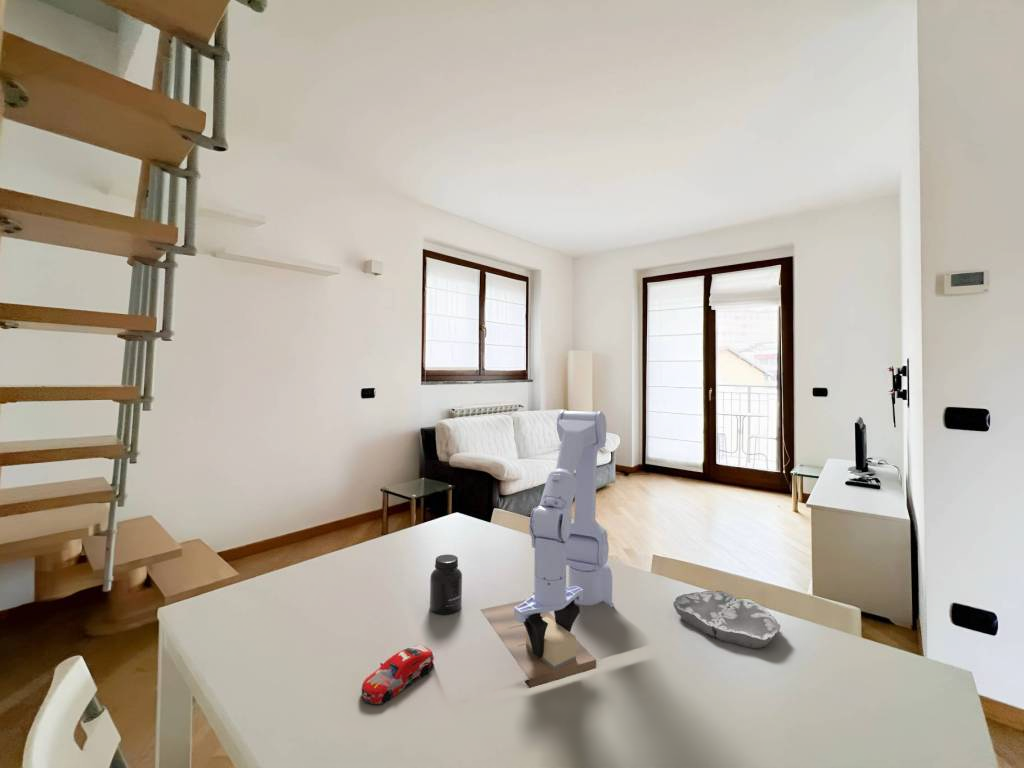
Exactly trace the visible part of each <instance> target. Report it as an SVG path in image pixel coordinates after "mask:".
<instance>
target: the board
mask: <svg viewBox="0 0 1024 768" xmlns="http://www.w3.org/2000/svg"><path fill="white" fill-rule="evenodd" d="M526 600H527V599H524V600H520V601H516V602H509V603H505V604H500V605H495V606H492V607H491V606H490V607H486V608H483V609H482V608H481V609H480V612H482V614H483V616H484V617H485V618H486V620H487V621H488V622H489V624H490V625H491V627H492V628H493V630H494V631H495V632H496V634H497V635H498V637H499V638H500V640H501V641H502V643H503V644H504V645H505V647H506V648H507V650H508V651H509V653H510V654H511V655H512V657H513V658H514V660H515V662H517V664H518V665H519V667H520V669H522V671H523V673H524V674H525V675H526V676H527V678H528V679H526V680H524V683H525V684H526V685H527V687H528V688H529V689H531V688H535V687H537V686H541V685H545V684H548V683H552V682H555V681H558V680H562V679H566V678H569V677H571V676H574V675H577V674H578V675H579V674H581V673H585V672H587V671H591V670H594V669H597V659H596V657H595V656H593V655H592V653H591V652H589V651H588V650H587V649H586V648H585V647H584V646H583V645H582V644H581V642H579V641H578V640H577V639H576V660H573V661H571V662H569V663H567V664H565V665H563V666H561V667H559V668H557V669H555V670H554V669H553V668H551V667H550V666H549V665H548V664H547V663H545V662H544V661H543V660H542V659H540V658H539V657H537V656H536V655H535V654H534V653H533V652H532V651H531V650H530V649H528V648H527V647H526V627H525V625H524V623H520V622H518V621H517V620H516V619H515V618H514V607H516V606H519V605H521V604H522V603H524V602H525V601H526ZM540 616H542V618H545V617H548V618H550V619H551V620H553V621H554V622H555V616H554V615H553V614H552V613H550V612H543V613H540Z"/></svg>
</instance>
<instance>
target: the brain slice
mask: <svg viewBox="0 0 1024 768" xmlns="http://www.w3.org/2000/svg"><path fill="white" fill-rule="evenodd" d="M673 607H674V609H675V612H676V613H677V615H679V616H680V618H681V619H682V620H683V621H684V622H685V623H687V624H688V625H690V626H693V627H694V628H696V629H697V630H699V631H701V632H702V633H704V634H706V635H708V636H711V637H713V638H716V639H718V640H719V641H722V642H725V643H730V644H735V645H738V646H742V647H745V648H751V649H760V648H763V647H765V646H767V644H770V643H771V641H772V640H773V639H774V638H775V636H776V634H777V633H778V632H779V631H780V629H781V624H780V623H778V622H777V619H776V618H775V617H774V616H773V615H772V614H771V612H769V611H768V610H767V609H766V608H764V606H763V605H761V604H759V603H758V602H755V601H754V600H752V599H750V598H747V597H738V598H737V597H736V595H733V594H731V593H728V592H725V591H718V590H717V591H712V590H705V591H702V592H697V591H696V592H692V593H684V594H682V595H679V596H677V597H676V598H675V599H674V601H673Z"/></svg>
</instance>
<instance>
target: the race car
mask: <svg viewBox="0 0 1024 768" xmlns="http://www.w3.org/2000/svg"><path fill="white" fill-rule="evenodd" d="M434 658H435V656H434V655H433V652H432V650H431V649H429V648H428V647H426V646H424V645H421V644H420V645H414V646H410V647H407V648H405V649H403V650H400V651H398V652H397V653H395V654H394V655H392V656H391V657H389V658H388V659H387V660H386V661H384V662H380V664H379V665H380V667H378V669H377V670H375V671H374V672H372V673H371V674H370V675H368V677H366V678H365V679H364V681H363V683H362V685H361V698H362V700H363V701H364V702H365V703H368V704H371V705H381V704H383V705H385V704H386V703H388V702H389V701H391V699H392V697H395V696H396V695H398V694H399V693H401V692H403V691H404V690H405V689H407V688H408V687H409V686H411V685H412V684H414V683H415V682H417V681H418V680H419V679H421V678H424V677H425V676H427V675H428V673H429V672H431V670H432V669H433V667H434V665H435V664H434V662H433V661H434Z"/></svg>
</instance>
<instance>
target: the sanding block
mask: <svg viewBox="0 0 1024 768" xmlns="http://www.w3.org/2000/svg"><path fill="white" fill-rule="evenodd" d="M542 620H544V621H545V622H547V623H548V626H547V628H546V632H545V637H544V652H543V657H541V658H540V659H542V660H543V661H544V662H545V663H547V664H548V665H549V666H550V667H551V668H553V669H554V670H555V669H557V668H559V667H561V666H563V665H565V664H567V663H569V662H571V661H573V660H576V640H577V636H576V635H574V634H573V633H571V631H570V632H569V631H567V630H566V629H564V628H563V627H561V626H560V625H559V624H557V623H556V622H554V621H553V620H551V619H550V618H548V617H545V618H542ZM526 647H527V648H528V649H530V650H531V651H532V646H531V642H530V638H529V635H528V632H527V630H526ZM532 652H533V651H532Z"/></svg>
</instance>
